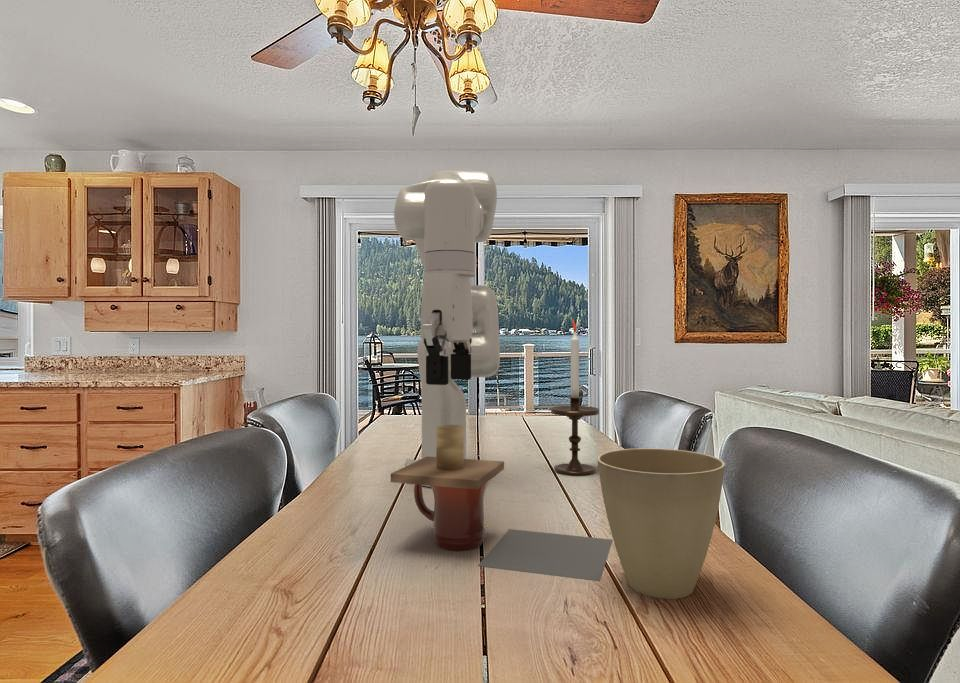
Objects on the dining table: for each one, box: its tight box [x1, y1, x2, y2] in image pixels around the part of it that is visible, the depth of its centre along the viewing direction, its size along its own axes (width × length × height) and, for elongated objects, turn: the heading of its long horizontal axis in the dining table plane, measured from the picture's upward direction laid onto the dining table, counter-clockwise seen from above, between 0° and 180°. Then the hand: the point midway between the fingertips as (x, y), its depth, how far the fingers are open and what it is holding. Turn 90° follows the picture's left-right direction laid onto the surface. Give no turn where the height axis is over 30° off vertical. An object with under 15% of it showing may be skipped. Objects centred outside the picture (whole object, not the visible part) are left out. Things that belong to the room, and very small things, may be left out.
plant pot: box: [596, 447, 726, 600], centre depth 74 cm, size 15×15×16 cm
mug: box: [413, 481, 489, 552], centre depth 90 cm, size 12×9×10 cm
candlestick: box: [550, 319, 600, 477], centre depth 138 cm, size 11×11×35 cm
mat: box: [477, 528, 614, 582], centre depth 85 cm, size 16×16×1 cm
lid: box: [390, 425, 505, 489], centre depth 89 cm, size 13×13×7 cm
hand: (449, 381), depth 90 cm, fingers open, 9 cm apart
